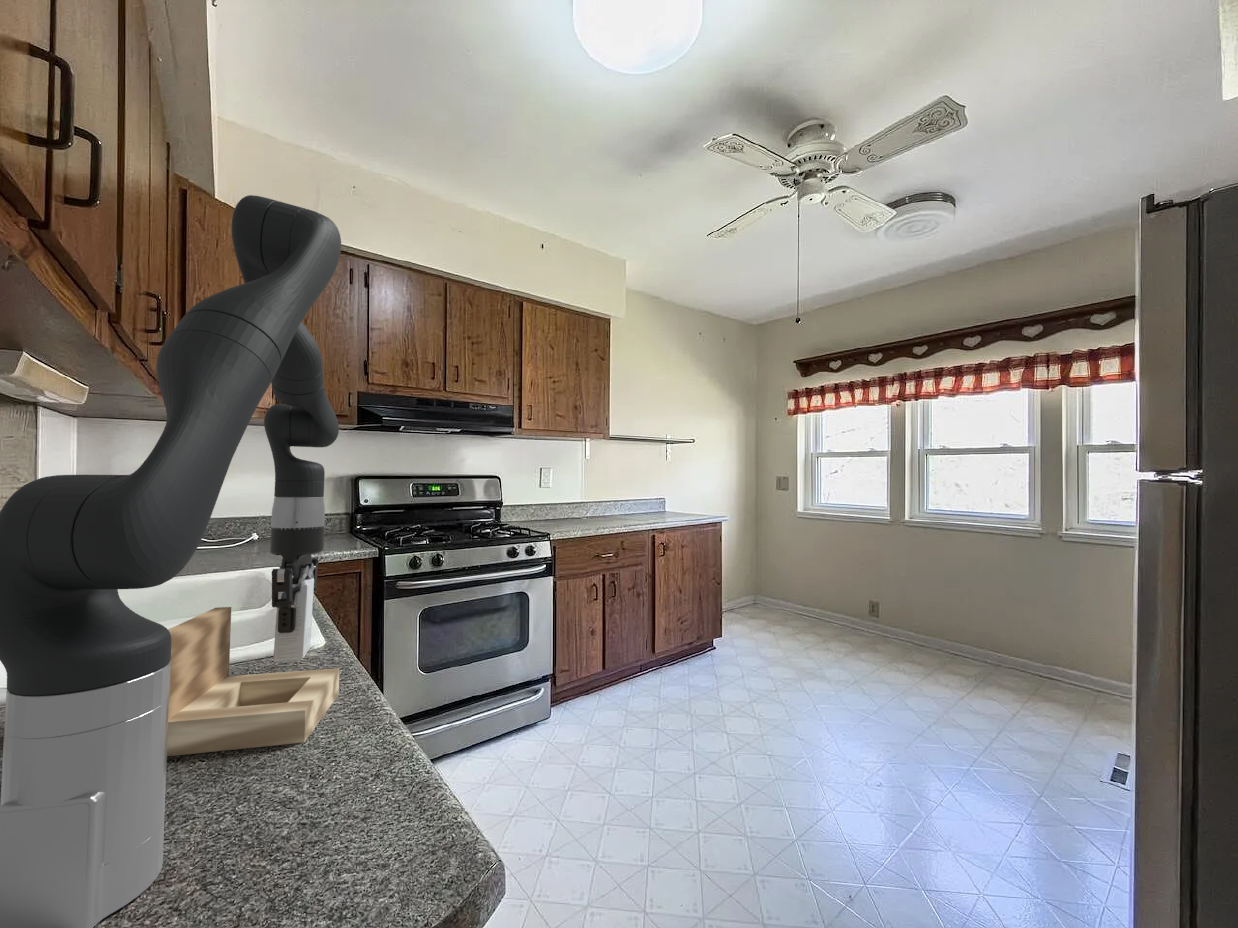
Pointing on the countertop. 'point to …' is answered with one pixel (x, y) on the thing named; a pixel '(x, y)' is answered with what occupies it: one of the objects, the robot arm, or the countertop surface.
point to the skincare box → (296, 627)
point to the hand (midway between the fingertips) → (294, 626)
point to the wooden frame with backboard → (236, 694)
